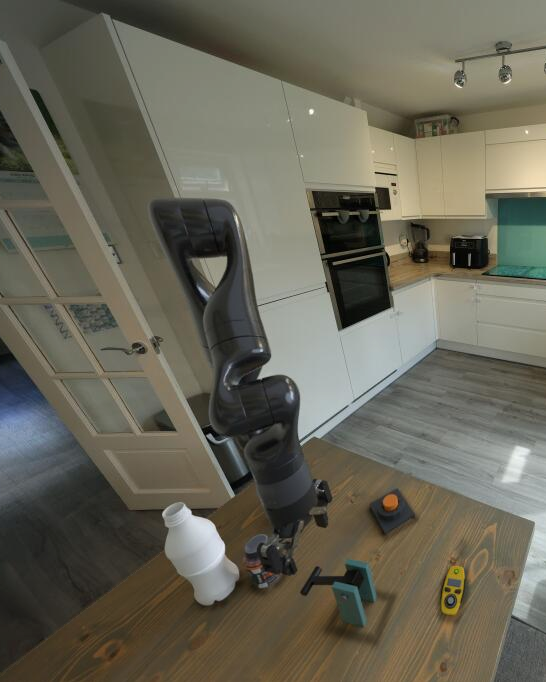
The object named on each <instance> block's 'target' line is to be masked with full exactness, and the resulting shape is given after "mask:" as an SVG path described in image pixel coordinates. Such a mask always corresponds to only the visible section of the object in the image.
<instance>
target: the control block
mask: <svg viewBox="0 0 546 682" xmlns="http://www.w3.org/2000/svg"><path fill="white" fill-rule="evenodd" d="M390 494H394V495H396V496H397V499H398V506H397V508H396V509H395V510H393V511H386V510H385V509H384V506H383V500H384V498H385V497H386V496H388V495H390ZM368 505H369V510H370V511H371V512H372V514H373V515H374V517H375V518H376V520H377V522H378V525H379V527H380V528H381V530H382V532H383V533H384V535H385V536H386V535H388V534H390V533H391V532H393V531H394V530H395V529H397V528H399V527H400V526H402V525H403V524H405V523H406V522H408V521H409V520H411V519H412V520H416V513H415V512H414V510H413V508H411V506H410V504H409V503H408V501H407V500H406V498H405V497H404V496H403V494H402V492H401V491H400V490H399V488H398V487H397V488H394V489H393V490H391V491H389V492H388V493H386V494H384V495H383V496H381V497H379V498H377V499H376V500H373V501H372V502H370V503H369V504H368Z"/></svg>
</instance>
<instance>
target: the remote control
mask: <svg viewBox="0 0 546 682" xmlns="http://www.w3.org/2000/svg"><path fill="white" fill-rule="evenodd" d="M465 591H466V578H465V569H464V567H463V566H459V565H451V566H450V568H449V569H448V572H447V573H446V575H445V577H444V579H443V583H442V586H441V591H440V600H441V601H440V609H441V613H442V614H444V615H447V616H455V615H456V614H457V613H458V610H459V608H460V606H461V604H462V602H463V600H464V597H465Z"/></svg>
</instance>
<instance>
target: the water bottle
mask: <svg viewBox="0 0 546 682" xmlns="http://www.w3.org/2000/svg"><path fill="white" fill-rule="evenodd" d="M192 512H193V511H192V510H191V509H190V508H188V507H187V505H186V503H184V502H182V501H179V502H175V503H173V504H170V505H169V506H167V507H166V508H165V509H163V511H162V512H161V516H162V518H163V521H164V526H165V527H166V528H168V532H167V534H166V535H167V536H166V539H165V543H164V553H165V556H166V558H167V559H168V560H170V562H171V564H172V565H173V567H174V568H175V569H176V572H177V574H178V575H180V576H182V577H183V578H184V579H186V580H187V581H188V582H189V583H190V584H191V586H192V587H193V590H194V593H193V598H194V599H195V601H196V602H197V603H198V604H200V605H202V606H212V605H213V604H214V603H215V601H217V602H221V601H223V600H224V599H226V598H227V597H228V596H229V595H231V593H232V592H233V591H234V590H235V587H236V582H239V580H240V570H239V568H238V565H237V564H236V563H234V562H232V561H231V560H230V559H229V558H228V557H227V555H226V544H225V542H224V540H222V538H221V536H220V535H219V532H218V530H217V528H216V525H215V524H214V522H212V521H211V520H210V519H208V518H205V517H201V516H197V515H193V514H192Z"/></svg>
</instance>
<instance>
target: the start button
mask: <svg viewBox="0 0 546 682" xmlns="http://www.w3.org/2000/svg"><path fill="white" fill-rule="evenodd" d="M383 506H384V509H385V510H386V511H393V510H395V509H396V508H397V506H398V499H397V496H396V495H394V494H390V495H388V496H386V497H385V498H384V500H383Z"/></svg>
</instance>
